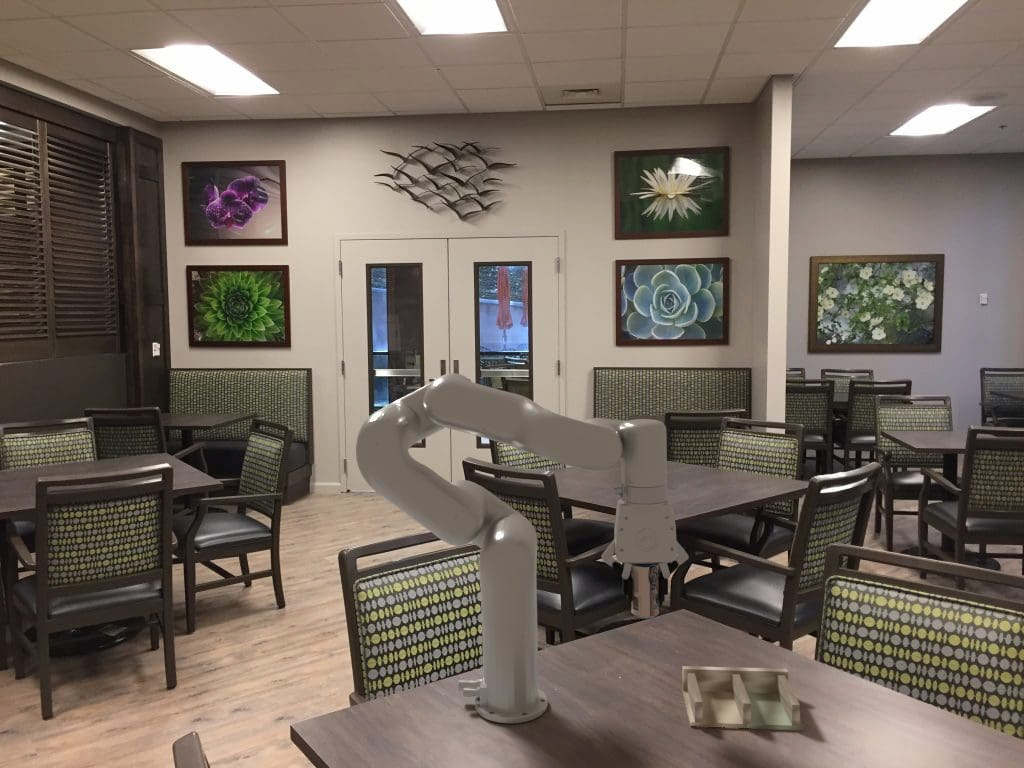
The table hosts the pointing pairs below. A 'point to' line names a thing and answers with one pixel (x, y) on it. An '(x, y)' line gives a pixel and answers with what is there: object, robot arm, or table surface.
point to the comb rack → (740, 698)
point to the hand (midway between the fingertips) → (645, 597)
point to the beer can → (645, 590)
